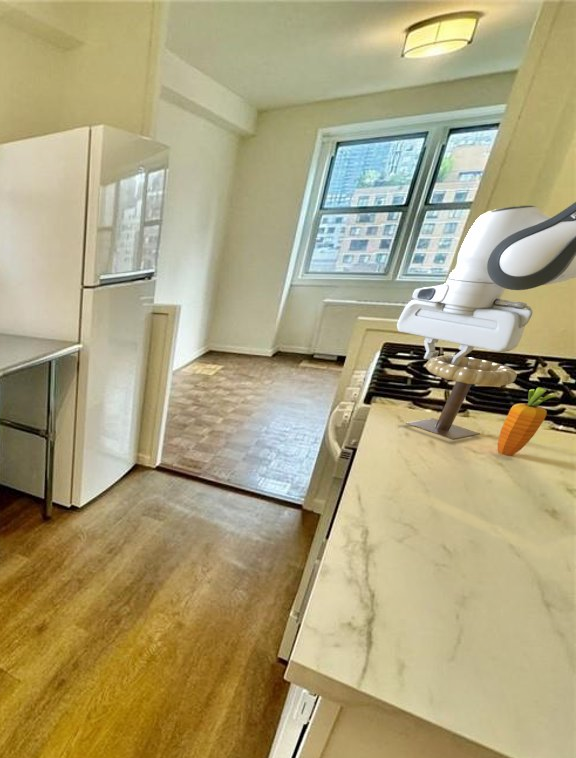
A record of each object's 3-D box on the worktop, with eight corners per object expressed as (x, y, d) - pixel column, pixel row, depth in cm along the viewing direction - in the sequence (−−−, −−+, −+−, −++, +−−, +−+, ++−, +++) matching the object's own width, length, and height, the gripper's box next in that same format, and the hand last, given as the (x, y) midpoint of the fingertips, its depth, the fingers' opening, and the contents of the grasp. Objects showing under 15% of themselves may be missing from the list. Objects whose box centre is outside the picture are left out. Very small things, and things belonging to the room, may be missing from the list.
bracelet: (527, 383, 96) (535, 370, 95) (485, 391, 92) (492, 377, 91) (449, 364, 108) (455, 352, 106) (408, 370, 104) (414, 357, 102)
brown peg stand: (476, 439, 103) (508, 379, 97) (449, 445, 101) (480, 383, 95) (429, 423, 111) (456, 367, 105) (403, 428, 108) (428, 370, 102)
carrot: (494, 452, 98) (532, 381, 91) (525, 463, 94) (568, 390, 87) (478, 455, 97) (516, 384, 90) (509, 467, 92) (551, 393, 86)
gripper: (547, 303, 90) (509, 374, 96) (425, 287, 107) (400, 349, 113) (527, 305, 88) (490, 377, 94) (406, 288, 105) (381, 351, 111)
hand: (440, 362), depth 104 cm, fingers closed on bracelet, 3 cm apart
